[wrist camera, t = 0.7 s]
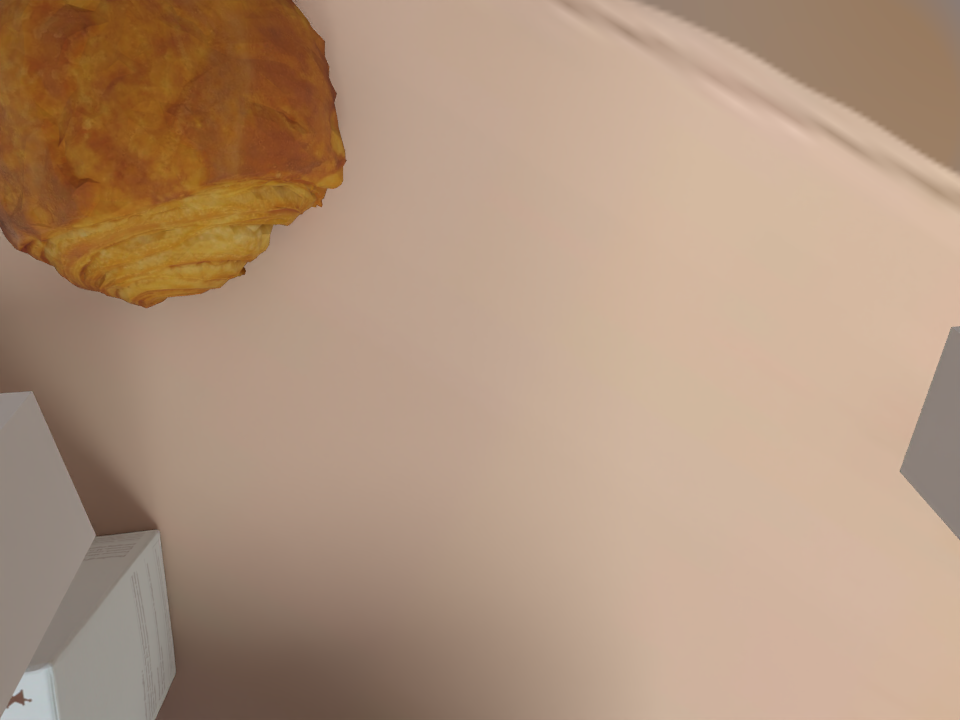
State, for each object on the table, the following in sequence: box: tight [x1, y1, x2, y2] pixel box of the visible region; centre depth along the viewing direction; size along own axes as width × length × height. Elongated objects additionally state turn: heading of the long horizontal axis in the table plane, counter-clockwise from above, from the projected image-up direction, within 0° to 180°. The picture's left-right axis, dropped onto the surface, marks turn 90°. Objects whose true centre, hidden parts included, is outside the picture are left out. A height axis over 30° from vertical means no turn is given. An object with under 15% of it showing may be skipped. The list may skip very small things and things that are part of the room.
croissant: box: [0, 0, 347, 308], centre depth 29 cm, size 14×16×8 cm
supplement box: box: [0, 530, 176, 720], centre depth 26 cm, size 7×7×13 cm
